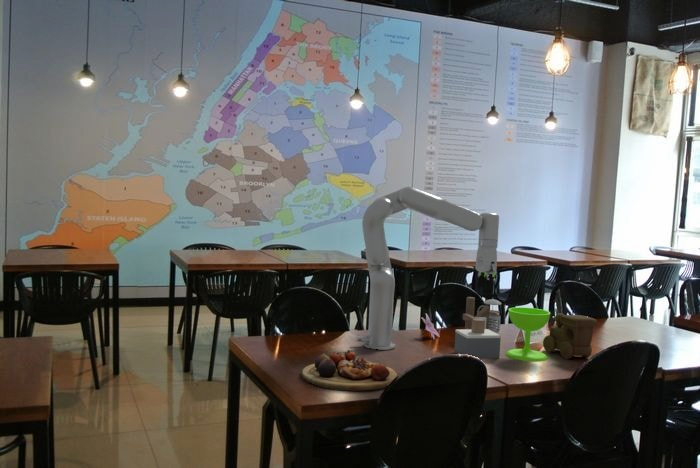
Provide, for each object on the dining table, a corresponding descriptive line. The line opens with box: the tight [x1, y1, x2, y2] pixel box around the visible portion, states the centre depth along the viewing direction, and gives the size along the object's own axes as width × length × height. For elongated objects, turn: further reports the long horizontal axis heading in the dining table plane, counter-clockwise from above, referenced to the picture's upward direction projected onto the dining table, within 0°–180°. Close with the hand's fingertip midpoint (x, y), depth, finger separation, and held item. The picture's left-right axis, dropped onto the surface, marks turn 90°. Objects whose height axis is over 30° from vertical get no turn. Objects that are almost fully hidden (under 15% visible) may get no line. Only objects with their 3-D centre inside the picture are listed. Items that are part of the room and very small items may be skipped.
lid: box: [455, 319, 502, 338], centre depth 247 cm, size 14×11×7 cm
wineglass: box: [505, 306, 551, 363], centre depth 249 cm, size 16×16×18 cm
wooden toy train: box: [542, 312, 598, 360], centre depth 254 cm, size 20×11×17 cm, turn 21°
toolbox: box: [454, 316, 501, 360], centre depth 249 cm, size 14×14×13 cm
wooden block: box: [464, 296, 491, 329], centre depth 279 cm, size 4×11×18 cm, turn 110°
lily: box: [419, 313, 441, 340], centre depth 276 cm, size 12×12×10 cm
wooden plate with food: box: [301, 350, 398, 392], centre depth 210 cm, size 32×32×8 cm
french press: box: [476, 278, 502, 335], centre depth 292 cm, size 10×12×25 cm
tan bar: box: [462, 313, 475, 324], centre depth 264 cm, size 2×16×2 cm, turn 14°
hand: (485, 288), depth 253 cm, fingers open, 6 cm apart
